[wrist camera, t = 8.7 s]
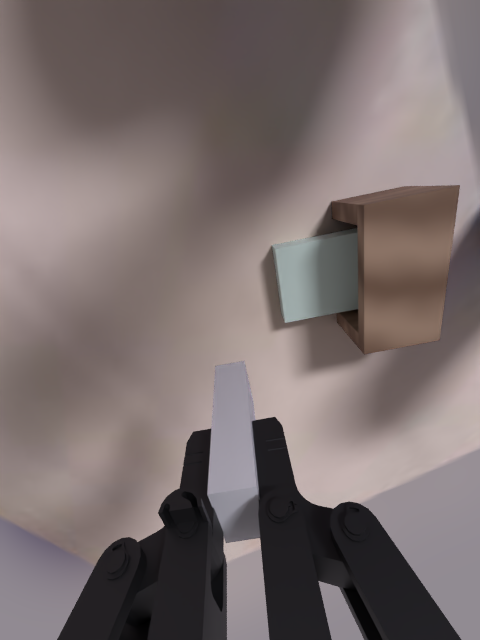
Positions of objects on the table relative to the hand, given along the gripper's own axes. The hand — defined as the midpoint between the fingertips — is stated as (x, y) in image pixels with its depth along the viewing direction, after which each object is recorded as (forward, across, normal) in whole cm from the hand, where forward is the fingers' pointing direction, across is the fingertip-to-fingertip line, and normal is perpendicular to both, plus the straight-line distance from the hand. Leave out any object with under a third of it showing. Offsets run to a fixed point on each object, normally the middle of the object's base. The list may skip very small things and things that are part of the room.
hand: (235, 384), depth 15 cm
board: (+18, +10, -1) cm, 20 cm away
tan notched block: (+17, +15, -1) cm, 22 cm away
